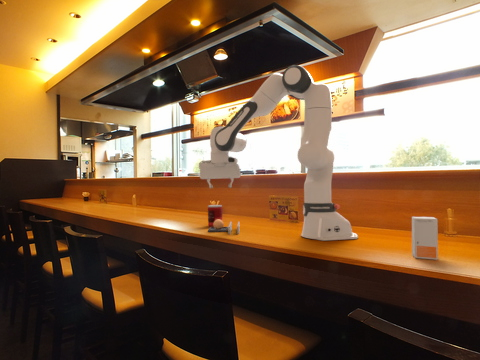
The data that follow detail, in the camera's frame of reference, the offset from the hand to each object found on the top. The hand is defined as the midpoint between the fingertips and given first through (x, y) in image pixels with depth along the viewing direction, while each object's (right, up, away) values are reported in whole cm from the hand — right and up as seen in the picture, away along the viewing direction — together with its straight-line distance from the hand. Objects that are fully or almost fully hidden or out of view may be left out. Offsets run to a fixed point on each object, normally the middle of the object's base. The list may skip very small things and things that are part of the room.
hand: (220, 187), depth 144 cm
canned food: (-4, -21, +13) cm, 25 cm away
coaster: (-1, -21, -2) cm, 21 cm away
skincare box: (+65, -20, -57) cm, 89 cm away
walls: (+7, -21, -5) cm, 22 cm away
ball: (-1, -20, -2) cm, 20 cm away
